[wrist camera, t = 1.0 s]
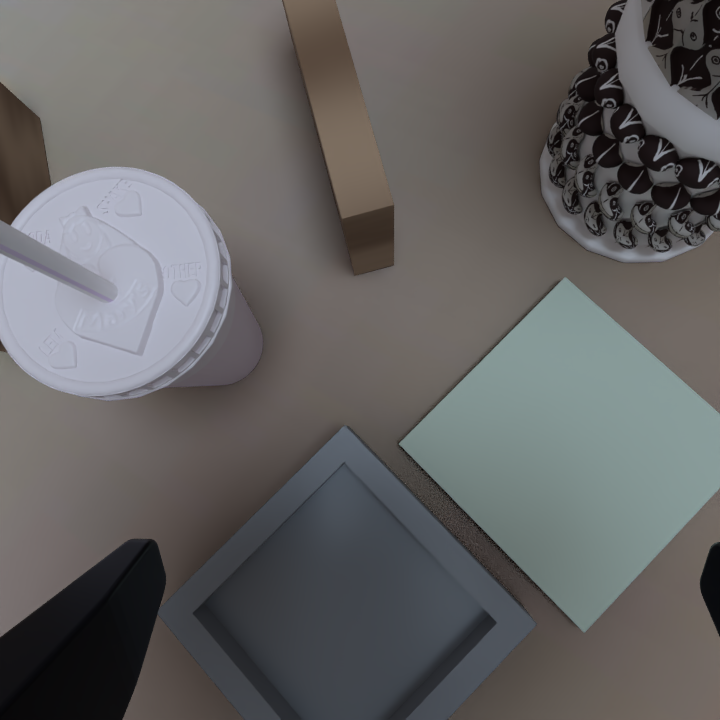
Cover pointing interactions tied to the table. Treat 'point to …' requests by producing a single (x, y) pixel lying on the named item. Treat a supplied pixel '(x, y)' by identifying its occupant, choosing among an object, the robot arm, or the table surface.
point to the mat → (573, 451)
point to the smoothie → (122, 289)
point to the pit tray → (345, 602)
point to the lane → (332, 122)
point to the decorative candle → (641, 135)
